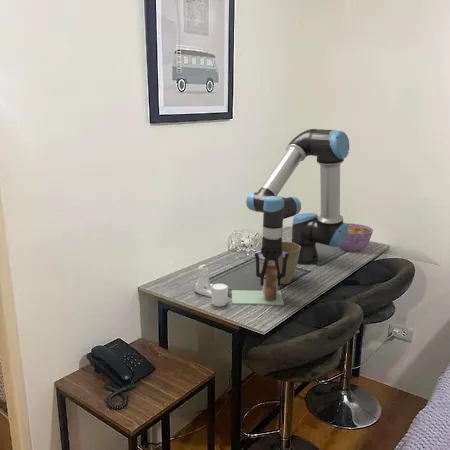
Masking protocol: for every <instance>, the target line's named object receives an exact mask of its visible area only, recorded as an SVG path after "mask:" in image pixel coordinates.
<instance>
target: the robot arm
mask: <svg viewBox="0 0 450 450" xmlns="http://www.w3.org/2000/svg"><path fill="white" fill-rule="evenodd" d="M349 152H350V139H349V136H348V134H346V132H344V131H343V130H337V129H321V128H320V129H319V128H318V129H317V128H310V129H306V130H303V131H302V132H300V133H299V134H297V135H295V137H294V138H292V140H290V142H289V143H288V144H287V146H286V147H285V153H284V154H283V156H282V157H281V158H280V160H279V161H278V163H277V164H276V165H275V167H274V168H273V169H272V171H271V172H270V174H269V176H268V177H267V178H266V180H265V181H264V182H263V184H262V185H261V187H260V188H259V189H258V191H257V192H253V191H252V192H249V194H248V195H247V197H246V201H245V203H246V207H247V208H248V209H249V210H250V211H253V212H257V213H263V216H262V217H263V219H262V220H263V221H262V223H263V224H262V238H261V239H262V242H261V243H262V244H261V248H260V250H258V251H254V252H253V253H254V256H255V275H256V278H260V279H259V281H260V286H261V287H262V291H263V294H265V285H266V278H265V272H266V267H267V264H268V261H269V260H274V261H275V266H276V268H277V287H281V284H280V279H281V278H282V277H285V275H286V265H287V258H288V256H289V254H288V252H284V251H283V250H282V241H283V238H282V237H283V229H284V228H283V226H284V224H283V223H284V220H286V219H287V218H291V217H293V218H292V225H291V226H292V227H291V242H292V243H296V244H298V245H300V247H301V249H300V255H299V259H298V263H297V265H314V264H316V263H318V261H319V255H318V254H319V253H318V249H317V246H316V244H320V245H325V246H329V247H334V248H338V247H340V246H341V245H342V244H343V243H344V241H345V239H346V237H347V233H348V225H347V224H346V223H347V222H344V217H343V215H341V164H343V162H344V161H345V159H346V158H347V157H348V156H349ZM309 156H313V157H316V163H317V164H318V165H319V166H320V170H319V171H320V178H319V179H320V214H319V215H318V214H317V213H314V212H313V213H312V212H304V213H300V212H301V210H302V203H301V201H300V199H299V198H297V197H296V196H288V197H282V196H278V195H279V194H280V192H281V191H282V189H283V187H284V186H285V185H286V183H287V182H288V180H289V179H290V177H291V176H292V175H293V173H294V172H295V170H296V169H297V167H298V165H299V164H300V162H303V161H304V160H305V159H306V158H307V157H309ZM281 254H282V256H283V264H282V273H281V274H280V270H279V264H278V258H279V257H280V255H281ZM261 255H262V256H263V257H264V260H263V263H262V268H261V272H260V257H261ZM277 291H278V289H277V290H276V295H277Z"/></svg>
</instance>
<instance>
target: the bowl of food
mask: <svg viewBox="0 0 450 450" xmlns="http://www.w3.org/2000/svg"><path fill="white" fill-rule="evenodd" d="M345 223H346V224H347V225H348V233H347V237H346V239H345V241H344V243H343V244H342V245H341V246H339V247H340V248H342V249H343V250H345V251H347V250H348V251H347V252H353V251H354V252H359V251H361V250H364V249H365V248H367V246H368V245H369V243H370V240H371V238H372V235H373V233H374V232H373V231H374V229H373V228H372V227H370V226H368V225H364V224H360V223H351V222H350V223H347V222H345ZM358 250H359V251H358Z"/></svg>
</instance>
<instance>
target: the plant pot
mask: <svg viewBox="0 0 450 450" xmlns="http://www.w3.org/2000/svg"><path fill="white" fill-rule="evenodd" d="M300 249H301V247H300V245H298V244H296V243H292V241H291V242H290V241H283V240H282V250H283V251H284V252H288V254H289V256H288V258H287V265H286V275H285V277H282V278H281V279H280V285H288V284H290V283H291V281H292V279H293V276H294V274H295V271H296V269H297V266H298V264H297V263H298V259H299V255H300ZM268 262H275V261H274V260H269V261H268ZM278 264H279V270H280V274H281V273H282V264H283V256H282V254H281V255H280V257H279V258H278Z"/></svg>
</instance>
